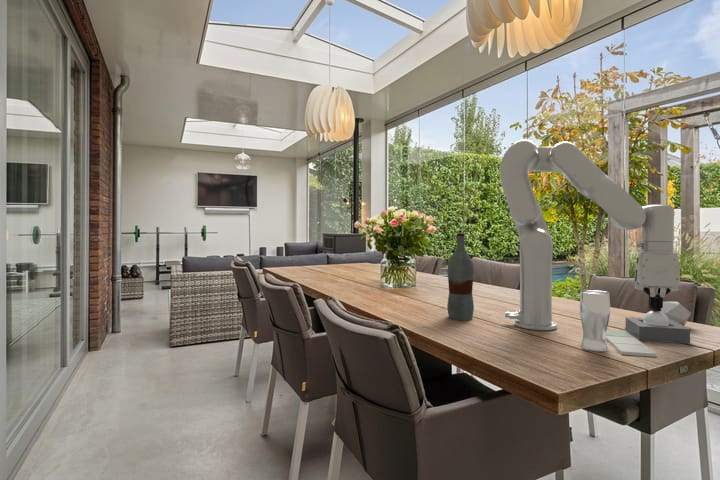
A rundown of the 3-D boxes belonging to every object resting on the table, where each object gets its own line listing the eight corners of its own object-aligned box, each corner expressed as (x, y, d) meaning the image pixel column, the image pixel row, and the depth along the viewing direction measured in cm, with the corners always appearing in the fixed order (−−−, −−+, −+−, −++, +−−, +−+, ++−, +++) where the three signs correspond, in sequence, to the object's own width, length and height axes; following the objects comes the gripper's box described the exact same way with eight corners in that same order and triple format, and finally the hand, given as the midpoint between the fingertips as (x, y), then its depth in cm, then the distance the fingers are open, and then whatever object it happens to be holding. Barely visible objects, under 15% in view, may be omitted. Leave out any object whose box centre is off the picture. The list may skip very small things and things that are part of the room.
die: (691, 333, 126) (700, 306, 129) (664, 318, 127) (673, 292, 130) (671, 335, 134) (680, 310, 136) (646, 322, 135) (655, 297, 138)
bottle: (441, 316, 147) (441, 233, 146) (460, 314, 152) (460, 233, 151) (460, 321, 139) (460, 233, 138) (479, 318, 144) (479, 233, 143)
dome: (647, 333, 117) (648, 312, 117) (640, 328, 123) (640, 308, 123) (672, 334, 116) (672, 313, 116) (663, 329, 121) (663, 309, 121)
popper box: (639, 340, 116) (639, 326, 115) (625, 330, 127) (625, 317, 127) (690, 343, 112) (690, 329, 112) (671, 332, 123) (671, 319, 123)
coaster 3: (621, 354, 103) (621, 351, 103) (612, 346, 110) (612, 343, 110) (656, 357, 101) (656, 353, 101) (644, 348, 108) (645, 345, 108)
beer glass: (573, 345, 111) (574, 290, 111) (597, 344, 112) (598, 289, 111) (590, 352, 104) (590, 294, 104) (615, 352, 105) (616, 293, 105)
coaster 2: (612, 345, 111) (612, 342, 111) (604, 338, 118) (604, 335, 118) (644, 347, 108) (644, 344, 108) (634, 340, 116) (634, 337, 116)
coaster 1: (603, 337, 118) (603, 335, 118) (597, 331, 125) (597, 328, 125) (633, 339, 116) (633, 337, 116) (625, 333, 123) (625, 330, 123)
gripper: (631, 247, 117) (630, 311, 118) (694, 248, 113) (692, 314, 114) (623, 246, 124) (622, 306, 125) (681, 247, 120) (680, 309, 121)
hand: (655, 310), depth 119 cm, fingers closed
